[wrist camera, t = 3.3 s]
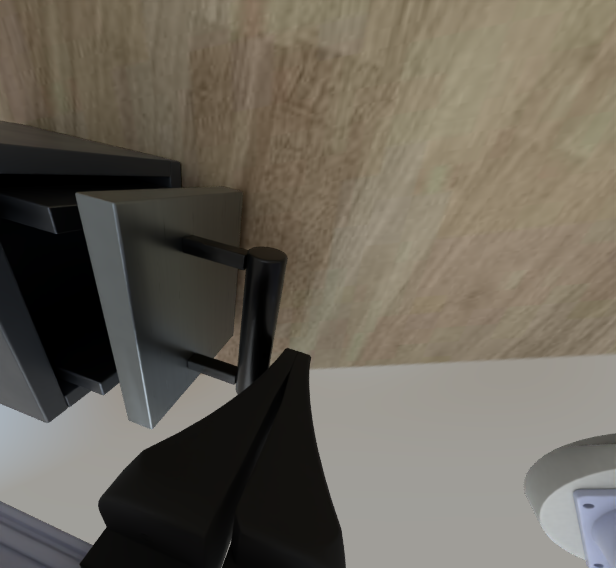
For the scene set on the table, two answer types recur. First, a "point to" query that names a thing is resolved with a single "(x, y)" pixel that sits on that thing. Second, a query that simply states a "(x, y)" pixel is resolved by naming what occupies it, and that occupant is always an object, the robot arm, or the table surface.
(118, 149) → the cabinet
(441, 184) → the table surface
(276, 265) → the drawer
